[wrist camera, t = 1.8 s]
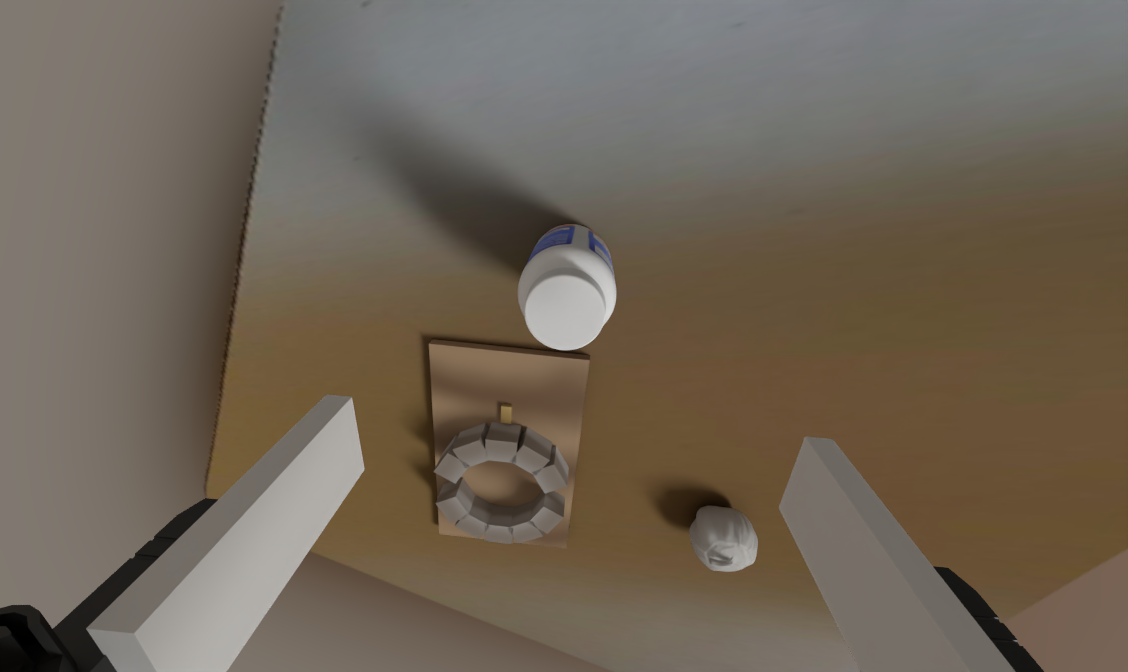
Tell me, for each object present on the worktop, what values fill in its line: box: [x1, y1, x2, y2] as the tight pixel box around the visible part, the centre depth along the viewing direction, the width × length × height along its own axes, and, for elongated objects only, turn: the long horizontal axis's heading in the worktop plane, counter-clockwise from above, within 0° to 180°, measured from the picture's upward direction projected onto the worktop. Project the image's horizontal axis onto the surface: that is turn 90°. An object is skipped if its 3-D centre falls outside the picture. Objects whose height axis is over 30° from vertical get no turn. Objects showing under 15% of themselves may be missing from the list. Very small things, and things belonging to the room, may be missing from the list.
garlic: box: [689, 505, 758, 572], centre depth 36 cm, size 6×5×5 cm
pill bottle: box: [518, 224, 616, 350], centre depth 25 cm, size 5×5×10 cm
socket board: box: [429, 339, 590, 548], centre depth 36 cm, size 20×12×3 cm, turn 175°
